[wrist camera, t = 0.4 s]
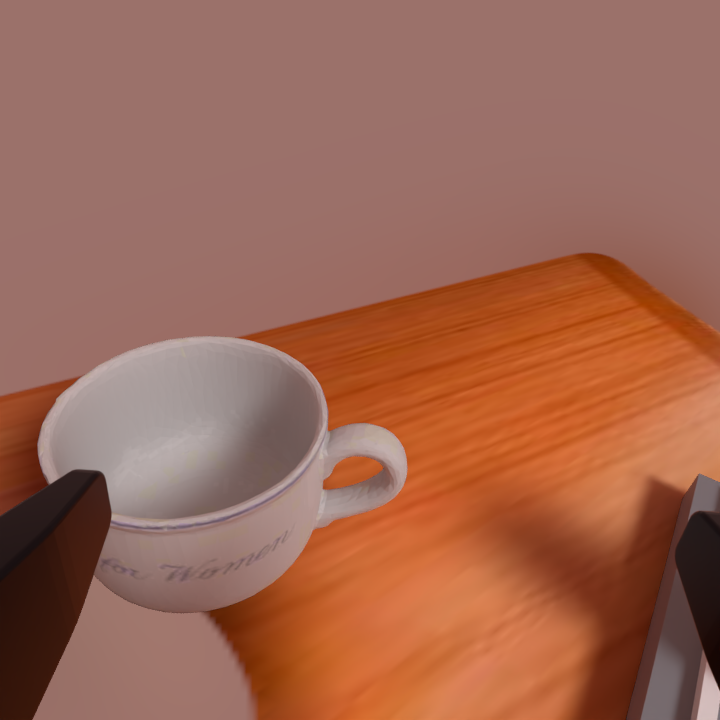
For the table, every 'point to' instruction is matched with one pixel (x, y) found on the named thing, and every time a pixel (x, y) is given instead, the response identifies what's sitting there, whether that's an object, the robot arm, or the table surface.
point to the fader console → (677, 638)
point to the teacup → (210, 467)
